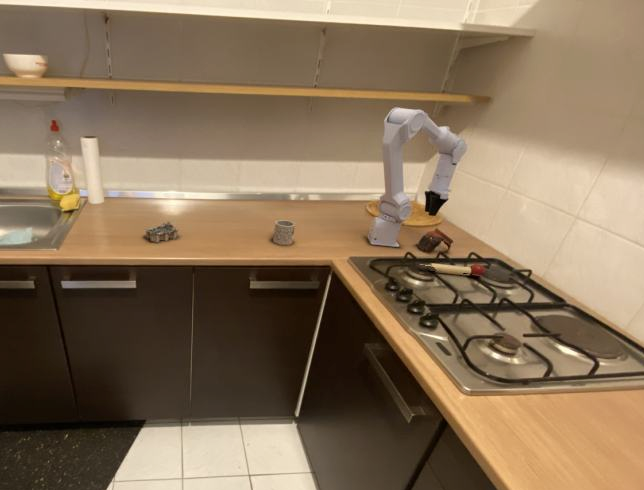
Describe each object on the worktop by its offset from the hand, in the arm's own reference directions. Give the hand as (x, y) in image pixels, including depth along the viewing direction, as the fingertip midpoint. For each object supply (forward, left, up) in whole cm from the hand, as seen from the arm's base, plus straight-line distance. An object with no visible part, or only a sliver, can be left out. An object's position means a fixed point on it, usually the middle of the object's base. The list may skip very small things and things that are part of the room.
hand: (429, 213), depth 139 cm
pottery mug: (0, -12, -10) cm, 15 cm away
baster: (-1, -31, -9) cm, 32 cm away
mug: (-52, -17, -10) cm, 56 cm away
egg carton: (-93, -27, -10) cm, 97 cm away
